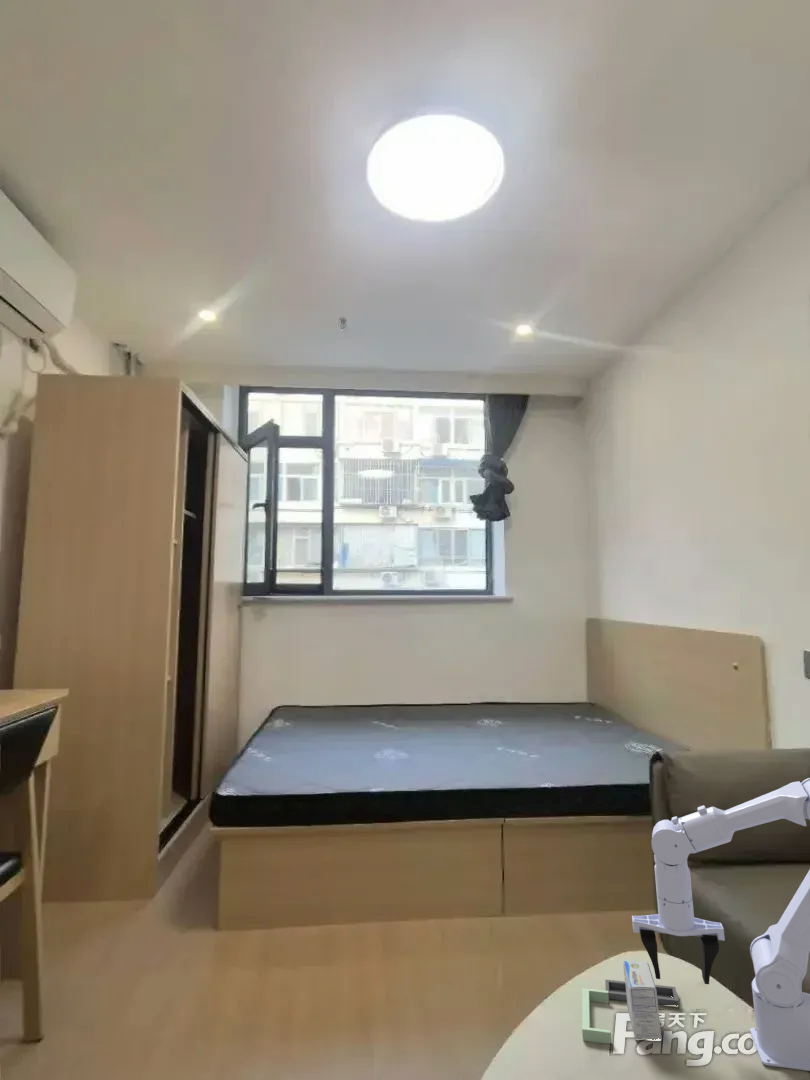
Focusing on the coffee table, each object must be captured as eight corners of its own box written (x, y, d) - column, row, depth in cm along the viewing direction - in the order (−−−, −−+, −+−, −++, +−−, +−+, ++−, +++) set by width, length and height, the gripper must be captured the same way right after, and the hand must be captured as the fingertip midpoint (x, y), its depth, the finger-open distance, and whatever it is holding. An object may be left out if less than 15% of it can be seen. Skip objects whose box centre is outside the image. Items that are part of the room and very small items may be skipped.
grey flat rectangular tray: (675, 993, 115) (675, 986, 115) (679, 1007, 111) (678, 1000, 111) (647, 990, 116) (646, 983, 116) (649, 1004, 112) (648, 997, 113)
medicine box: (662, 1043, 103) (657, 988, 104) (634, 1041, 104) (629, 986, 104) (653, 1011, 111) (648, 960, 111) (627, 1010, 111) (622, 959, 112)
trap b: (633, 989, 117) (632, 982, 117) (635, 1002, 113) (634, 995, 113) (605, 986, 118) (605, 979, 118) (606, 999, 114) (605, 992, 115)
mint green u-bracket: (608, 1001, 114) (608, 990, 114) (611, 1044, 103) (610, 1032, 103) (583, 998, 115) (582, 987, 115) (583, 1040, 104) (582, 1029, 105)
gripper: (714, 887, 109) (722, 968, 108) (628, 881, 113) (634, 960, 112) (724, 907, 102) (732, 994, 101) (631, 900, 106) (638, 984, 105)
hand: (681, 978), depth 106 cm, fingers open, 7 cm apart
